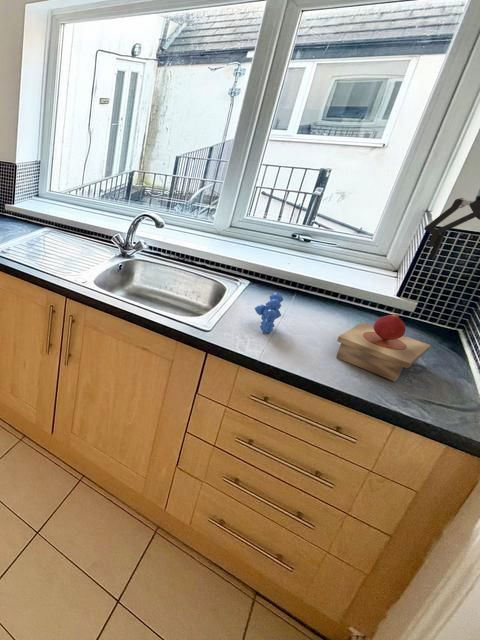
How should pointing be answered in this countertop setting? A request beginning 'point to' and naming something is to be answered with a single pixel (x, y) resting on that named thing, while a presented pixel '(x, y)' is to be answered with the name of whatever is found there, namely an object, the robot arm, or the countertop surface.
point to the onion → (389, 327)
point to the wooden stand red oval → (379, 351)
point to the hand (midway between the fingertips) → (469, 266)
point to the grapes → (269, 312)
